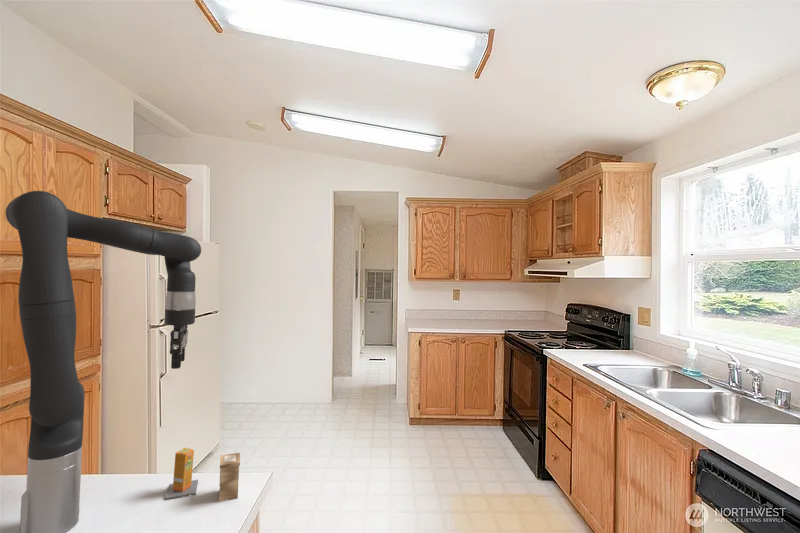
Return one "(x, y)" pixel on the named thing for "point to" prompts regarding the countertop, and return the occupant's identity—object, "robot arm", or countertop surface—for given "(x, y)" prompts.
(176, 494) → the coaster
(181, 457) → the supplement box
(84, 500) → the countertop surface
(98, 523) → the countertop surface
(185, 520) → the countertop surface
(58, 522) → the robot arm
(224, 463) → the box
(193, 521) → the countertop surface
